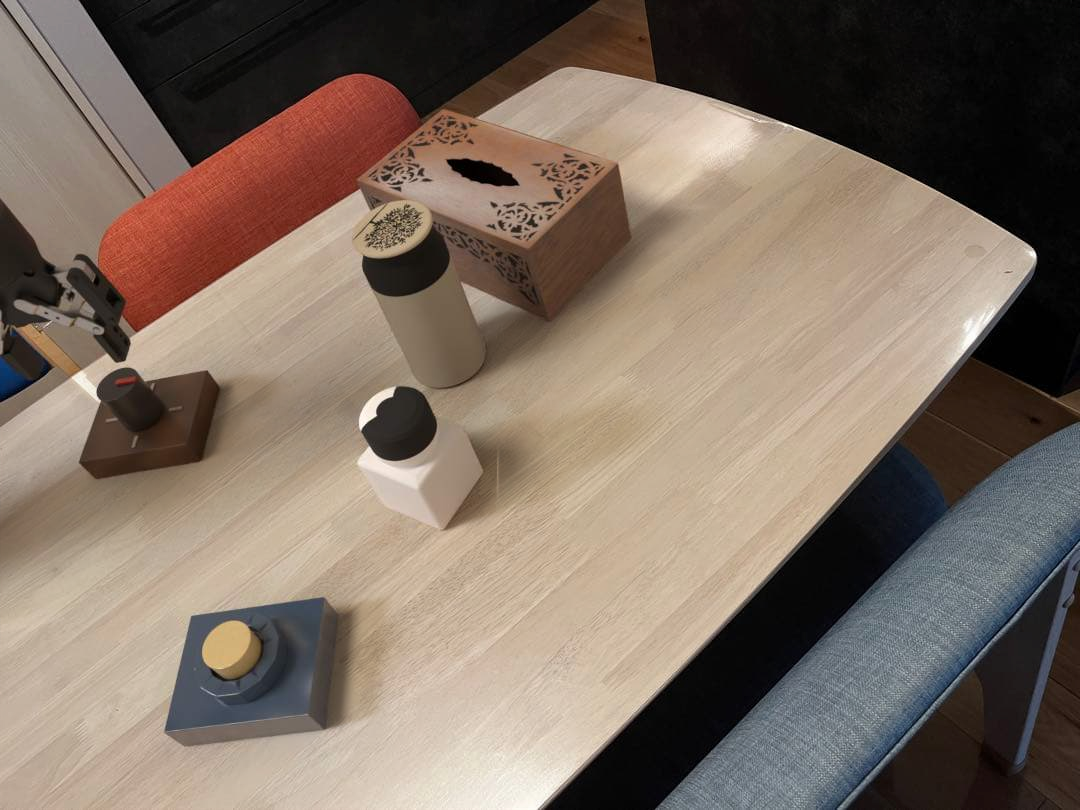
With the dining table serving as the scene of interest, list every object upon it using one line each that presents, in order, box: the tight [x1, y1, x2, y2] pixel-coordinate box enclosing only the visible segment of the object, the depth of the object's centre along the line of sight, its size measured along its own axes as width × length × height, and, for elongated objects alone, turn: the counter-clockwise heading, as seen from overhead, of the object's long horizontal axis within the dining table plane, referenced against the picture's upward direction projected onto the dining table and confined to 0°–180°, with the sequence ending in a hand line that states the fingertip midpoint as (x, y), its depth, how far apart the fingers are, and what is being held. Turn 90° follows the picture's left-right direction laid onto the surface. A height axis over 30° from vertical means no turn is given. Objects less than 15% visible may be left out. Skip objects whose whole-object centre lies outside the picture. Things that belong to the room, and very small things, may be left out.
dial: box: [95, 366, 164, 431], centre depth 93 cm, size 4×4×5 cm
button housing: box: [163, 596, 339, 747], centre depth 74 cm, size 12×10×5 cm
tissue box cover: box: [356, 107, 632, 322], centre depth 101 cm, size 26×14×10 cm, turn 50°
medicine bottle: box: [357, 385, 484, 531], centre depth 80 cm, size 7×7×12 cm
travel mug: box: [351, 200, 487, 389], centre depth 88 cm, size 8×8×18 cm
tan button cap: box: [202, 621, 262, 679], centre depth 71 cm, size 4×4×2 cm
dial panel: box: [78, 369, 221, 480], centre depth 96 cm, size 12×10×3 cm
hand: (79, 364), depth 81 cm, fingers open, 8 cm apart
